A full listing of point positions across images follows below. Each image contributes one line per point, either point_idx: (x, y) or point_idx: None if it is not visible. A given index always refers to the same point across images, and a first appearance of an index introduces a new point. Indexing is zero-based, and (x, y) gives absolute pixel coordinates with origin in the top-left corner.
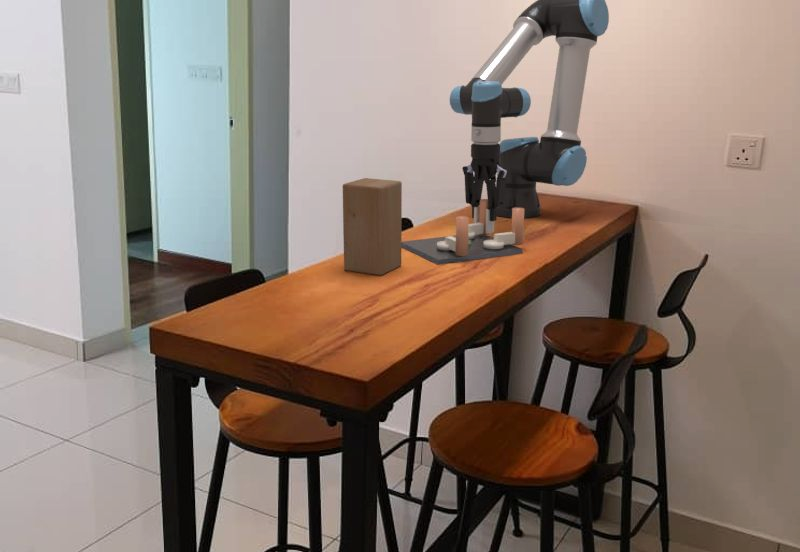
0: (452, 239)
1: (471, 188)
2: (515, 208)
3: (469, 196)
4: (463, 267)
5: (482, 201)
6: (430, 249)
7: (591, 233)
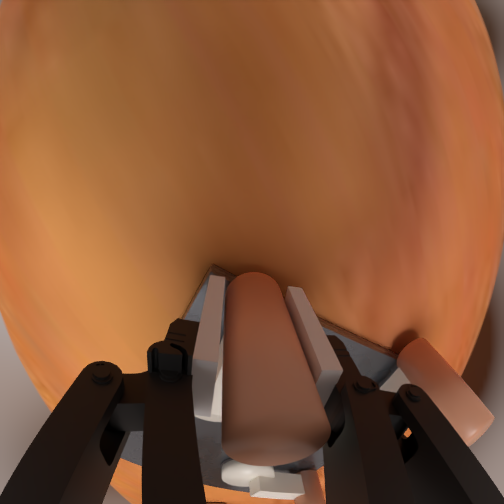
0: (278, 498)
1: (85, 497)
2: (466, 442)
3: (117, 457)
4: (321, 477)
5: (270, 462)
6: (216, 476)
7: (487, 35)
